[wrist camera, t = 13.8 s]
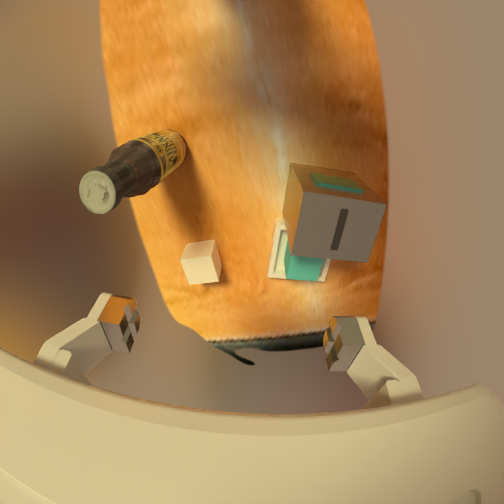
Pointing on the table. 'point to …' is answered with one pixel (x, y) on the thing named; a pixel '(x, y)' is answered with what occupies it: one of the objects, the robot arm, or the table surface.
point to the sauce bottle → (132, 170)
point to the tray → (278, 253)
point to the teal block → (301, 266)
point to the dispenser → (330, 214)
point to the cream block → (201, 262)
